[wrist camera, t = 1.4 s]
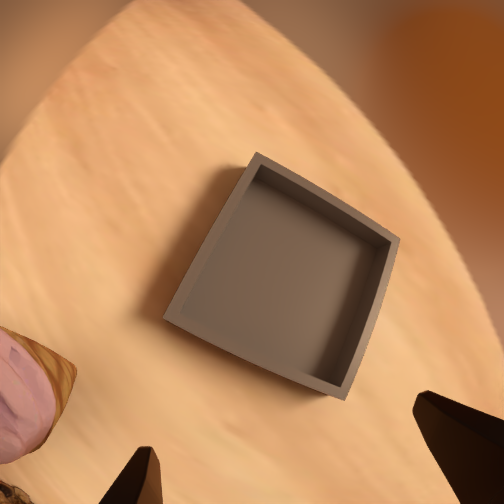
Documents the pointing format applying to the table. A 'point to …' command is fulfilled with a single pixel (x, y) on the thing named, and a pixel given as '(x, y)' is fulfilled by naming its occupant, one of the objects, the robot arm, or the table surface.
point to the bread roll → (12, 495)
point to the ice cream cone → (30, 393)
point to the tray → (288, 279)
